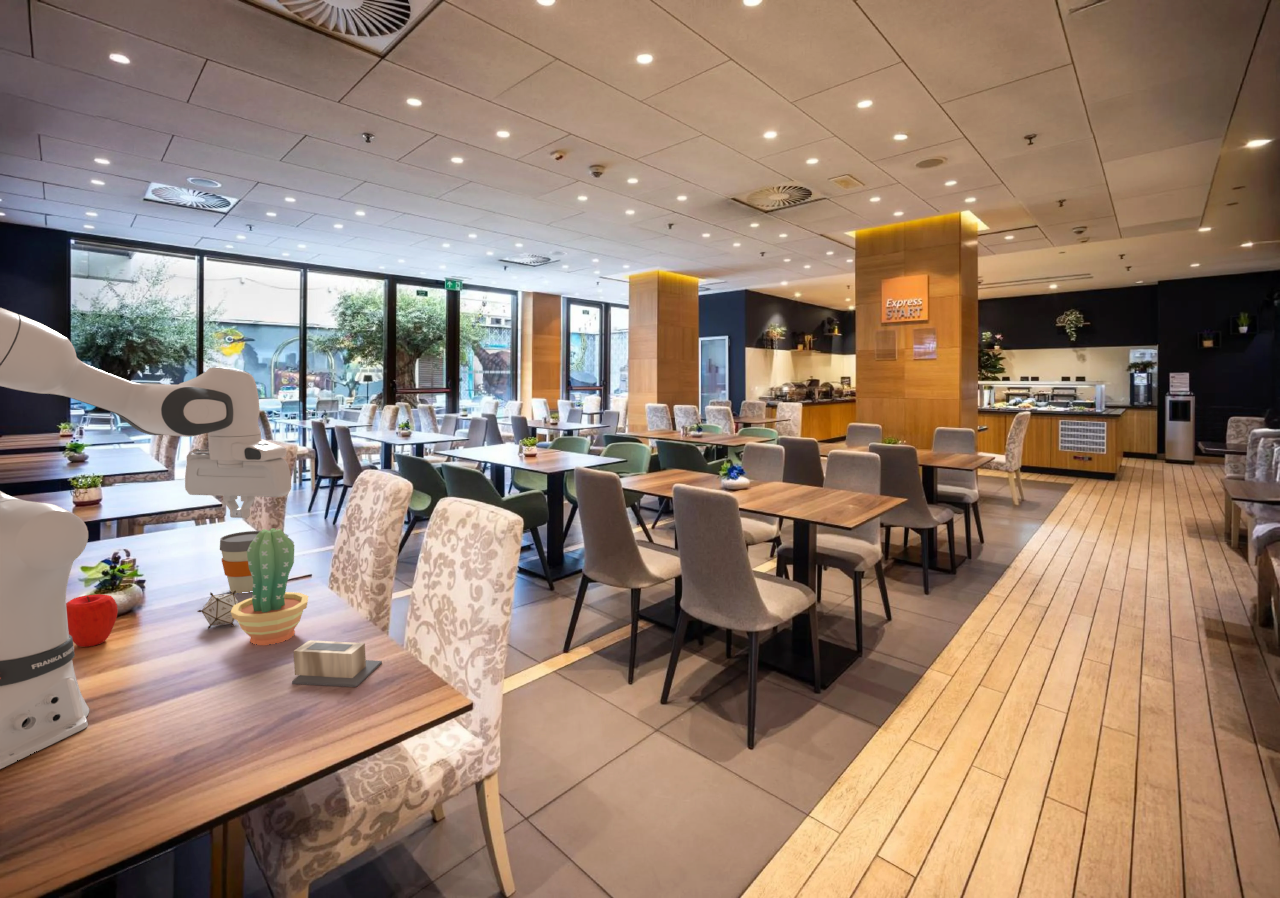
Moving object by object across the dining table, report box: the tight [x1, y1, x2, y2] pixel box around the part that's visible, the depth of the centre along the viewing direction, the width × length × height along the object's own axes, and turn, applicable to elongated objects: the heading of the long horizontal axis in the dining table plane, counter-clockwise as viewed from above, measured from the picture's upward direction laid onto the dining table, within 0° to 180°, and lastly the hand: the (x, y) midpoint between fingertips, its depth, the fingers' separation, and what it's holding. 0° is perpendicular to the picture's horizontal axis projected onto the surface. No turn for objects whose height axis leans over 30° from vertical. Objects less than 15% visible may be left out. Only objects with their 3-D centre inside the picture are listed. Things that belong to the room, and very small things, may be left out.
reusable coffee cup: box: [219, 530, 261, 594], centre depth 170 cm, size 13×13×15 cm
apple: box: [66, 593, 119, 648], centre depth 135 cm, size 9×9×11 cm
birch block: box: [293, 639, 367, 678], centre depth 123 cm, size 5×5×12 cm
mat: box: [291, 659, 383, 688], centre depth 123 cm, size 10×13×1 cm
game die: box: [197, 590, 240, 630], centre depth 145 cm, size 9×8×10 cm
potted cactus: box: [231, 527, 309, 646], centre depth 138 cm, size 15×15×25 cm
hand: (240, 517), depth 123 cm, fingers closed
